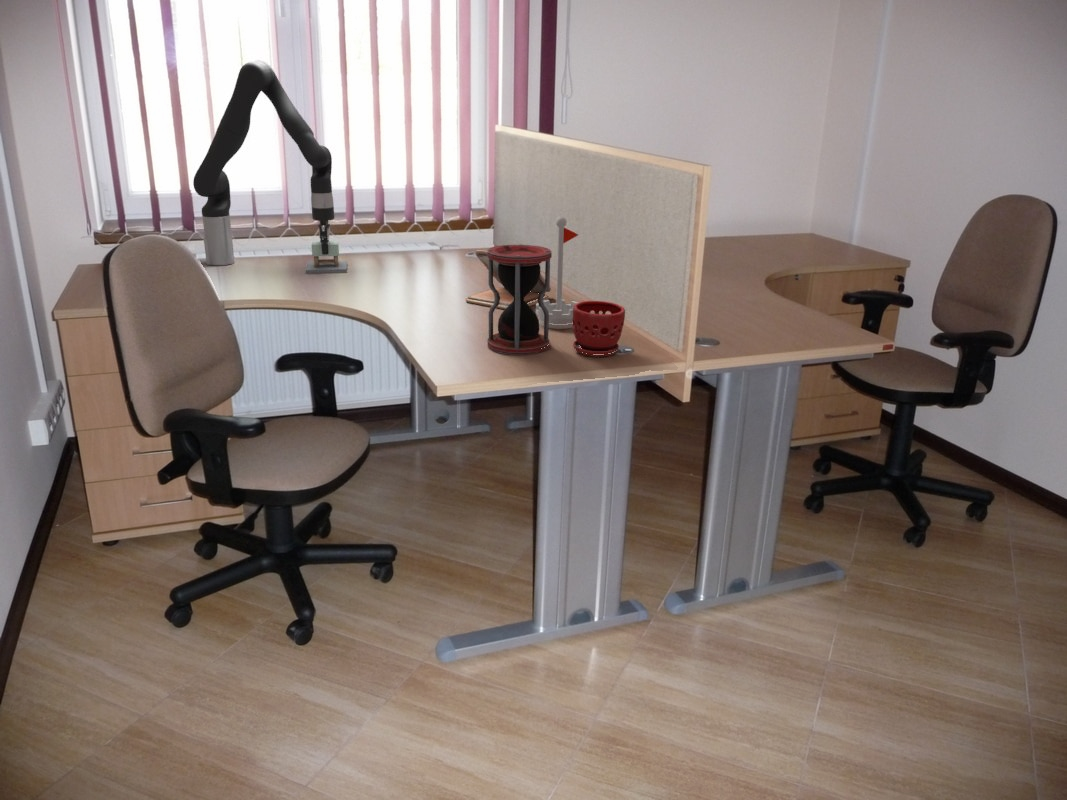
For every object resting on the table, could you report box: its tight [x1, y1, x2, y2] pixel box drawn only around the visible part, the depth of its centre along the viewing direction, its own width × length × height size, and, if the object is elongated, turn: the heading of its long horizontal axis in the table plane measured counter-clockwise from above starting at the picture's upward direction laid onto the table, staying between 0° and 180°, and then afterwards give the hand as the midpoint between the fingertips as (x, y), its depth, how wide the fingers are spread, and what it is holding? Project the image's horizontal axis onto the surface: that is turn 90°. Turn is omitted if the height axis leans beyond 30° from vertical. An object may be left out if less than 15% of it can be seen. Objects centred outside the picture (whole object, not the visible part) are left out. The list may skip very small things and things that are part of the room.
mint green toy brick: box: [311, 240, 340, 267], centre depth 304 cm, size 6×9×8 cm, turn 100°
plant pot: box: [572, 300, 626, 358], centre depth 217 cm, size 13×13×12 cm
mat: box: [304, 260, 348, 275], centre depth 306 cm, size 14×14×1 cm
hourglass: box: [486, 243, 553, 356], centre depth 218 cm, size 16×16×25 cm
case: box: [465, 249, 552, 311], centre depth 265 cm, size 20×21×16 cm
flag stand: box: [535, 216, 579, 330], centre depth 238 cm, size 13×13×30 cm
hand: (325, 252), depth 304 cm, fingers open, 8 cm apart
